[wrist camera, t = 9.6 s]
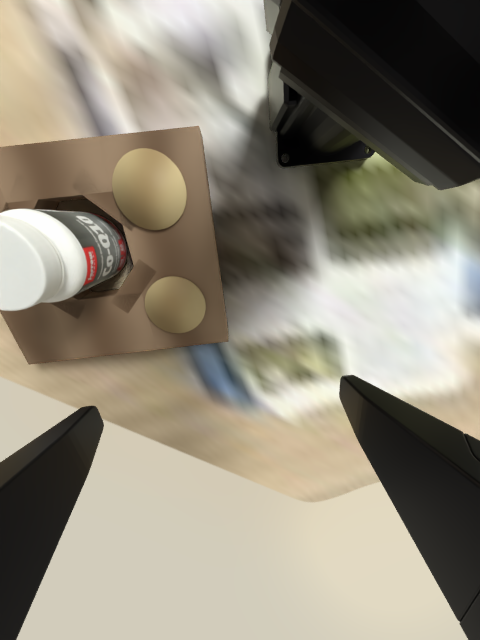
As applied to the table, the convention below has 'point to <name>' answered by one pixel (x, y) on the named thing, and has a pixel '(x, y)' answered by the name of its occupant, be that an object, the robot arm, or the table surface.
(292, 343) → the table surface
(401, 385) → the table surface
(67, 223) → the pill bottle
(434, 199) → the table surface
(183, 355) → the table surface
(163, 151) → the pin board
